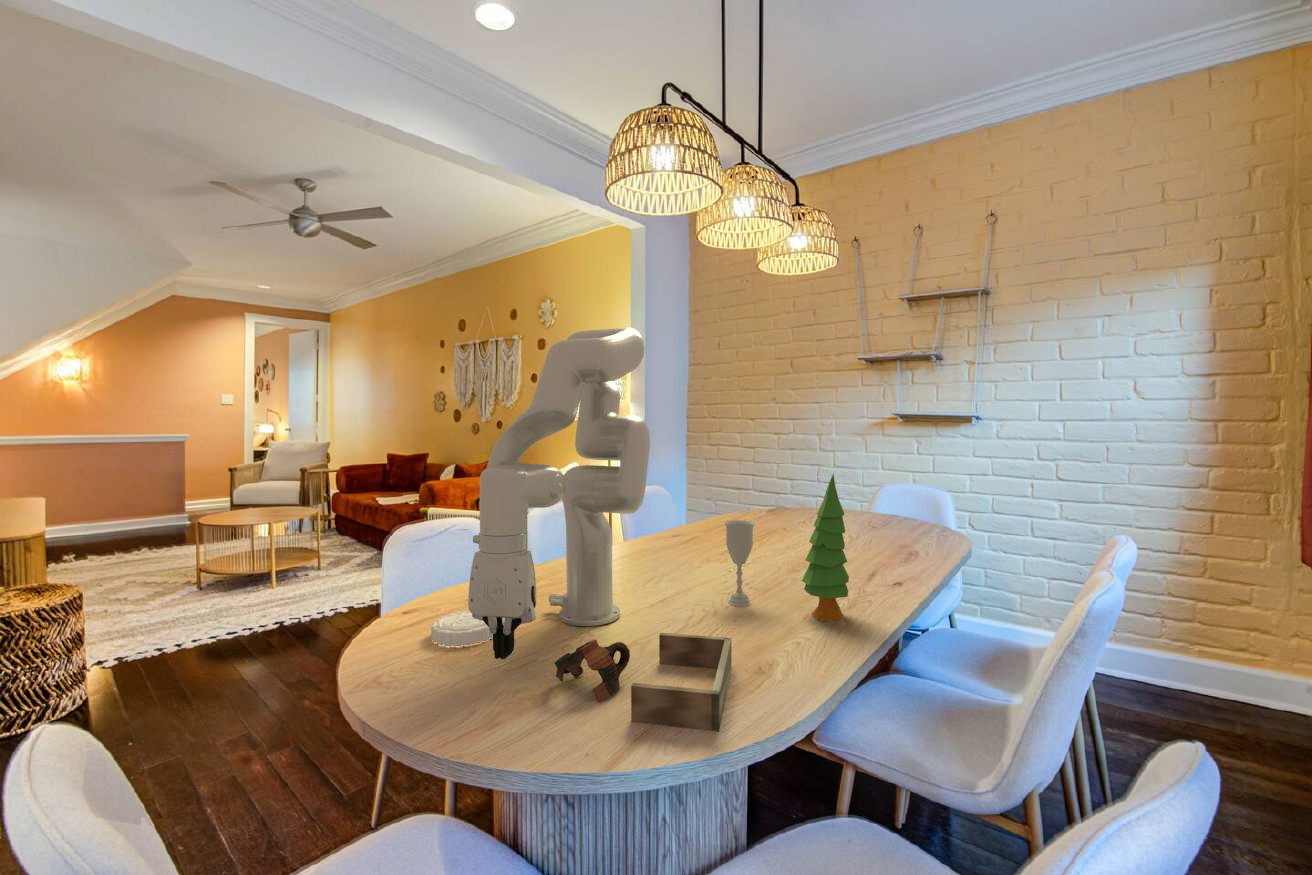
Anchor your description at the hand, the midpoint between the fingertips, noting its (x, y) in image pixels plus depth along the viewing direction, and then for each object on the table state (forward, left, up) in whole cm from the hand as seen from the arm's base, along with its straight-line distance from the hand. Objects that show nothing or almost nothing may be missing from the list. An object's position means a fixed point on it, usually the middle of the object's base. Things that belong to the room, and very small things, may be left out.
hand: (503, 655), depth 95 cm
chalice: (+35, +44, -3) cm, 56 cm away
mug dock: (+30, 0, -3) cm, 30 cm away
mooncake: (-15, +14, -3) cm, 20 cm away
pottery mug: (+16, -1, -3) cm, 16 cm away
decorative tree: (+53, +39, -3) cm, 66 cm away
